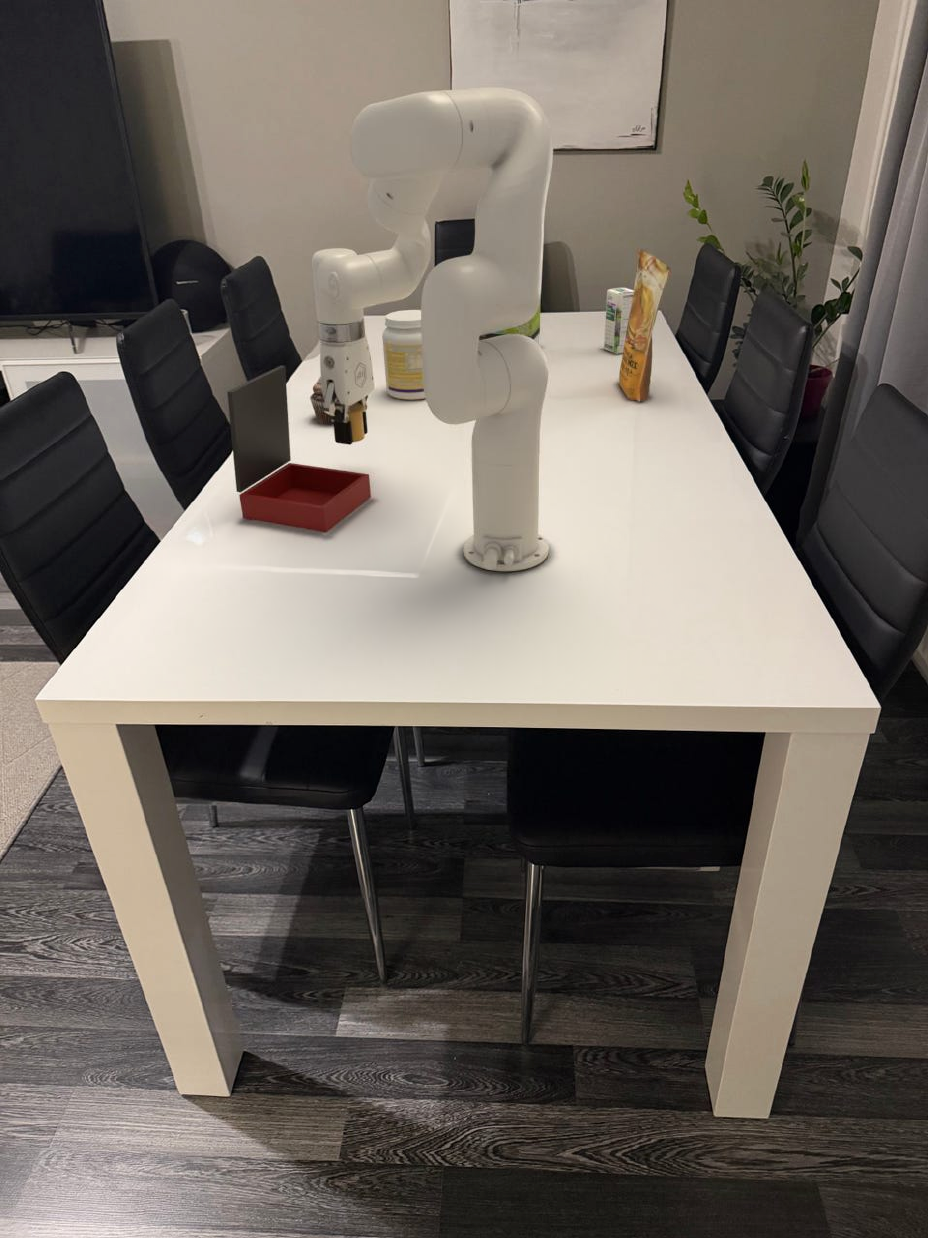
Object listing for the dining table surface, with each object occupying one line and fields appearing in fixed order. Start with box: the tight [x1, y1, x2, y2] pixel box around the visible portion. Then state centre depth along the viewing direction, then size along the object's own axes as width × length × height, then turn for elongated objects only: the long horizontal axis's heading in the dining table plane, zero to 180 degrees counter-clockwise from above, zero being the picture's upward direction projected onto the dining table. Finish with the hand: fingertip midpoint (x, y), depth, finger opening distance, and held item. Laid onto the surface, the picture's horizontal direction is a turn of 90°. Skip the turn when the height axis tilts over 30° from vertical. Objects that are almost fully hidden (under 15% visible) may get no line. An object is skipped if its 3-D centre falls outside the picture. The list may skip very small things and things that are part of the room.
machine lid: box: [226, 365, 292, 494], centre depth 147 cm, size 16×15×1 cm
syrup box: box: [603, 287, 634, 355], centre depth 226 cm, size 6×6×14 cm
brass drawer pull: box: [337, 403, 366, 443], centre depth 158 cm, size 6×6×5 cm
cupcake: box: [309, 376, 340, 426], centre depth 189 cm, size 10×10×10 cm
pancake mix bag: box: [618, 248, 672, 403], centre depth 194 cm, size 7×19×28 cm, turn 2°
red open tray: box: [238, 462, 372, 533], centre depth 150 cm, size 16×15×5 cm
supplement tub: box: [381, 309, 426, 401], centre depth 201 cm, size 12×12×17 cm
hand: (351, 436), depth 159 cm, fingers closed on brass drawer pull, 4 cm apart
